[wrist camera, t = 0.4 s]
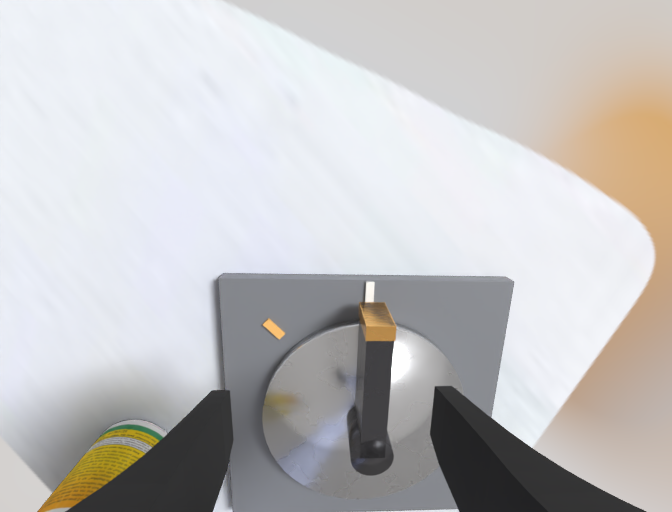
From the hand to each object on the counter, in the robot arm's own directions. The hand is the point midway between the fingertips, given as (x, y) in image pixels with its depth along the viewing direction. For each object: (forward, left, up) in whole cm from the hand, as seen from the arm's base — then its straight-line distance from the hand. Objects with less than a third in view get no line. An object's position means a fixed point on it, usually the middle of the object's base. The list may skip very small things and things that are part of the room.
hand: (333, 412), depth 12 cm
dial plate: (-7, -3, -10) cm, 13 cm away
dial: (-6, -3, -9) cm, 11 cm away
